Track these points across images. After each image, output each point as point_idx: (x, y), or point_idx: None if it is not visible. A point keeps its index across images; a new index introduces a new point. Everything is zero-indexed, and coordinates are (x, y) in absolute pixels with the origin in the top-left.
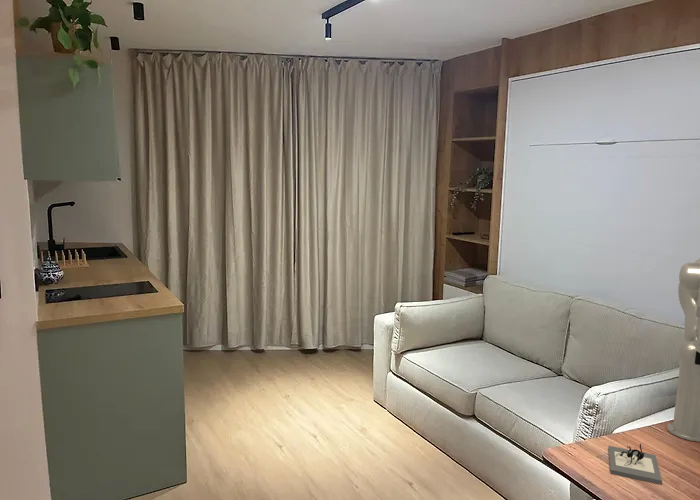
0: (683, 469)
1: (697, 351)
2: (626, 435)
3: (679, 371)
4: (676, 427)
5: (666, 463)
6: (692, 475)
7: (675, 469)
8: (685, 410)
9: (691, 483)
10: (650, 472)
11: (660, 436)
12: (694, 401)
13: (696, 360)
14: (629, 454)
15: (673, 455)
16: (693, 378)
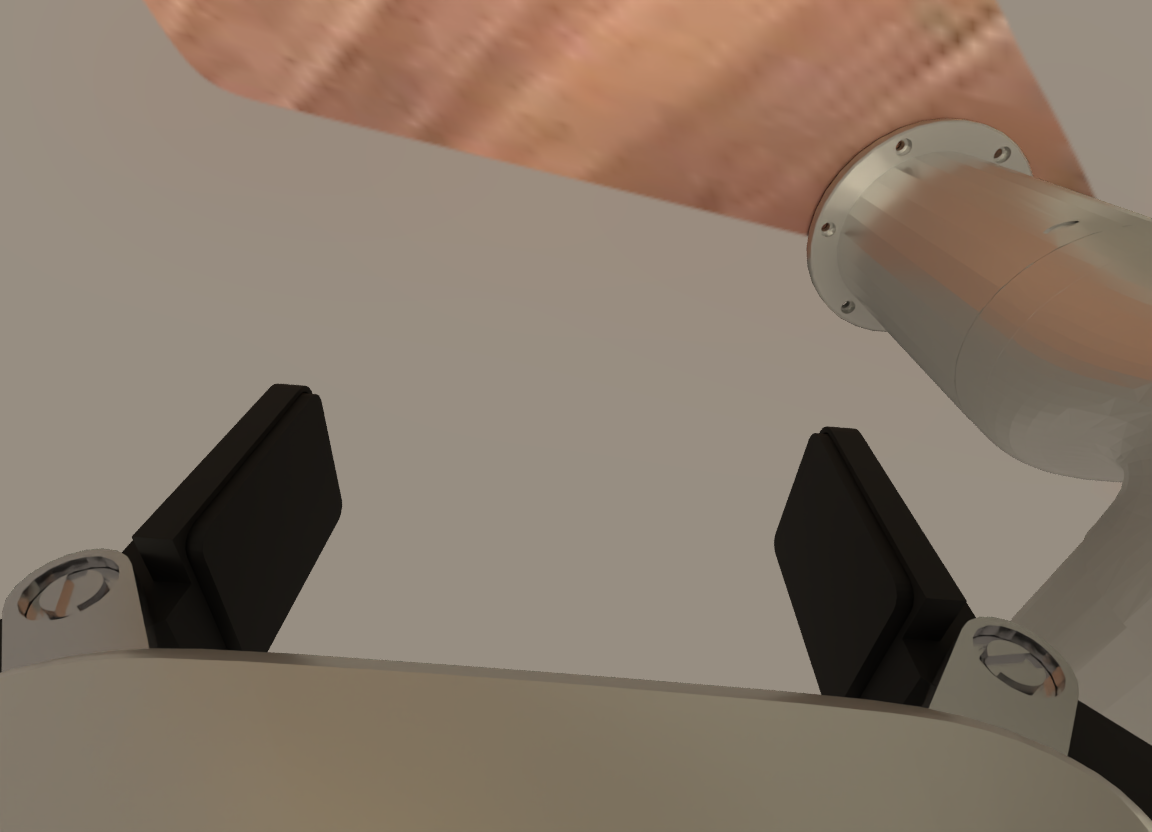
0: (447, 94)
1: (948, 620)
2: None
3: None
4: (914, 164)
5: (475, 6)
6: (401, 127)
7: (424, 47)
8: (931, 229)
9: (309, 100)
10: None
11: (846, 48)
12: (937, 301)
13: (830, 476)
14: None
15: (598, 75)
16: (1071, 363)
